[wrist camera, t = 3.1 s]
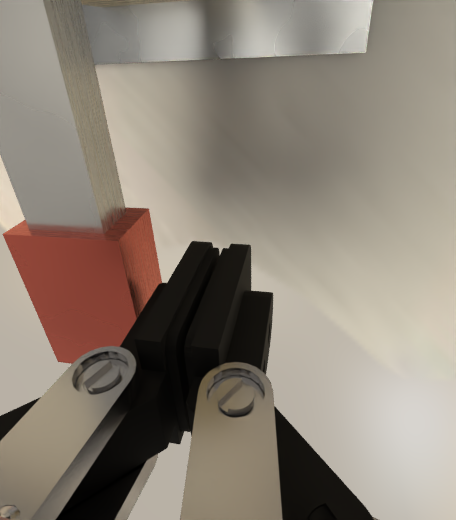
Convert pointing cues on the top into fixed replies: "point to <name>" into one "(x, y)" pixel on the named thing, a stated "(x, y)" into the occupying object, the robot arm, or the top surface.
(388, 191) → the top surface
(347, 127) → the top surface
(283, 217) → the top surface
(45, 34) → the valve lever
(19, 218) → the top surface
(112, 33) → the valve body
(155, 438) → the robot arm
